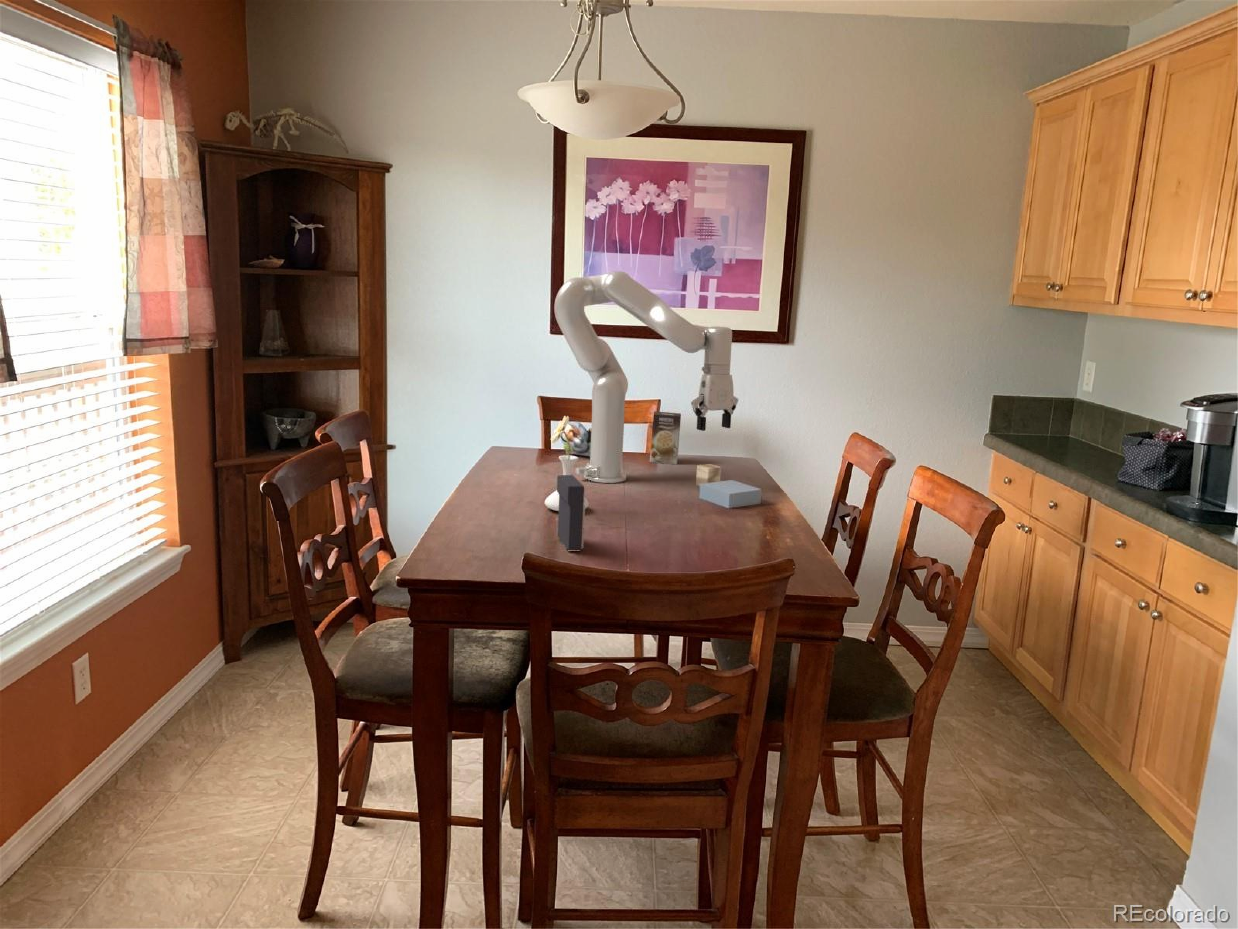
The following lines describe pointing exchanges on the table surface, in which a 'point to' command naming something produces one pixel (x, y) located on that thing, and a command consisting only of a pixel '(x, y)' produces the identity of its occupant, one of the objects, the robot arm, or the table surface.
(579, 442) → the lucky cat figurine
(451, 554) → the table surface
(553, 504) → the flower in vase
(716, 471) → the birch block
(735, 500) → the base block
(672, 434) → the coffee box
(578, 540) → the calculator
